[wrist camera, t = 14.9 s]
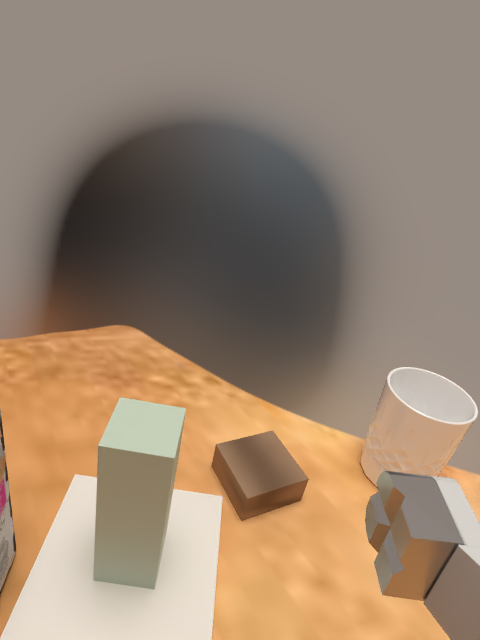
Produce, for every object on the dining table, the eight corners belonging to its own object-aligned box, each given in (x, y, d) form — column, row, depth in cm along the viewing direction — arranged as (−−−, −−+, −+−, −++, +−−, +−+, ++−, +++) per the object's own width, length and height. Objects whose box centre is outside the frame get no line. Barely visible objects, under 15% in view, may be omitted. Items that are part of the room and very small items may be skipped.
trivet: (220, 506, 36) (222, 496, 36) (206, 678, 26) (209, 668, 25) (75, 484, 36) (75, 474, 35) (-1, 652, 25) (-2, 641, 25)
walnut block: (266, 453, 43) (272, 430, 42) (300, 502, 39) (308, 478, 37) (211, 468, 40) (216, 444, 39) (240, 523, 36) (247, 498, 34)
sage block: (166, 534, 32) (185, 408, 26) (154, 589, 28) (174, 458, 23) (111, 525, 32) (120, 397, 26) (93, 580, 28) (98, 445, 23)
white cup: (449, 490, 43) (496, 412, 38) (395, 516, 39) (440, 433, 34) (390, 435, 48) (425, 361, 44) (338, 453, 44) (369, 374, 40)
